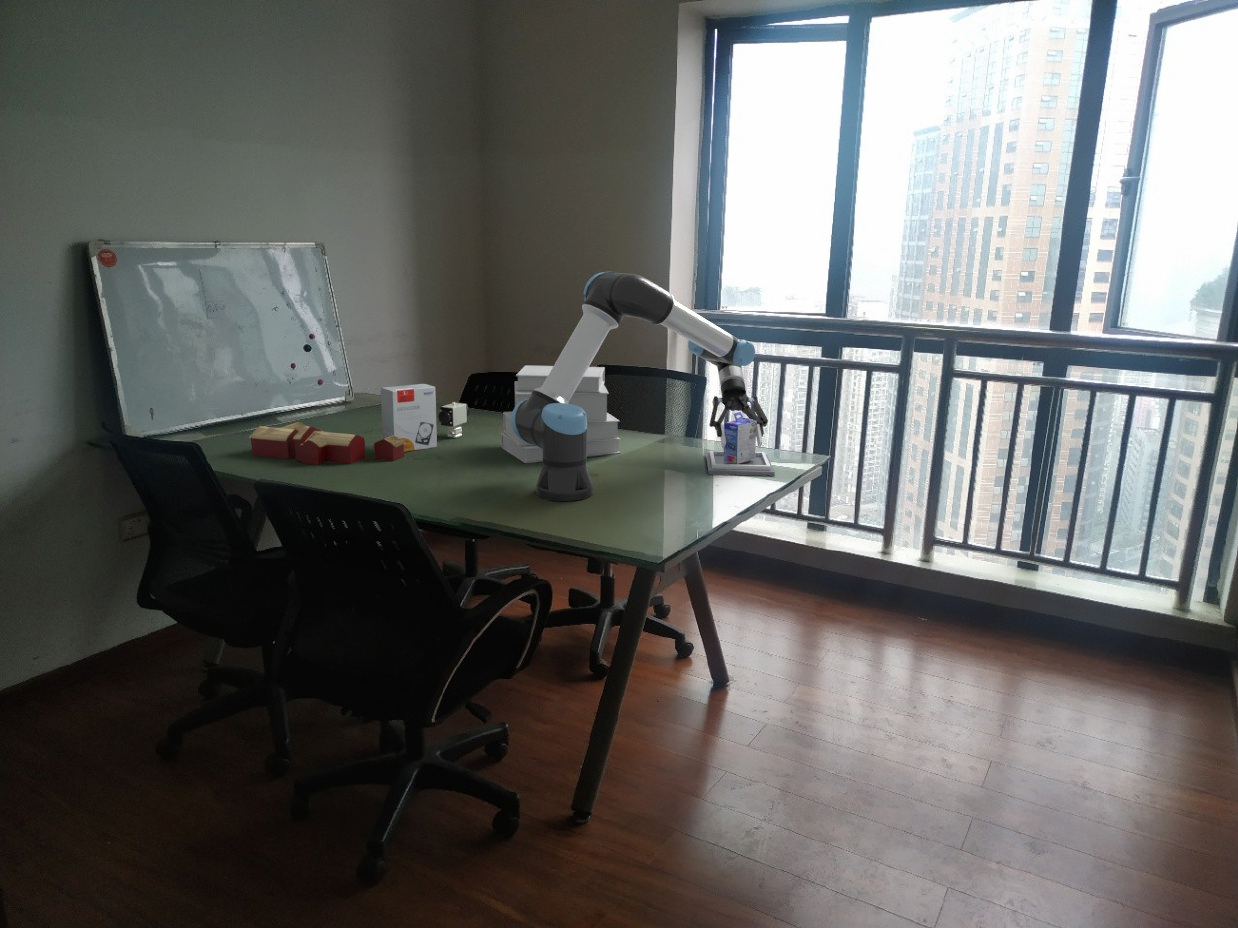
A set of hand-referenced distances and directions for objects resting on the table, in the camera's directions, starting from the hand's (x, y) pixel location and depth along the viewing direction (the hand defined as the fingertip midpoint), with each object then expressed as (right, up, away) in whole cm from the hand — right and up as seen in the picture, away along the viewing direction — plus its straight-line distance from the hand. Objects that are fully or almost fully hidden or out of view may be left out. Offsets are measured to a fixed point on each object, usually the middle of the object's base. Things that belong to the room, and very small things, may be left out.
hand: (742, 445), depth 257 cm
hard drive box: (-103, -1, +19) cm, 105 cm away
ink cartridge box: (0, -5, +4) cm, 6 cm away
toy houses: (-125, -4, +9) cm, 126 cm away
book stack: (-56, -1, +20) cm, 59 cm away
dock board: (0, -6, +5) cm, 8 cm away
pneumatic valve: (-93, +3, +36) cm, 99 cm away
